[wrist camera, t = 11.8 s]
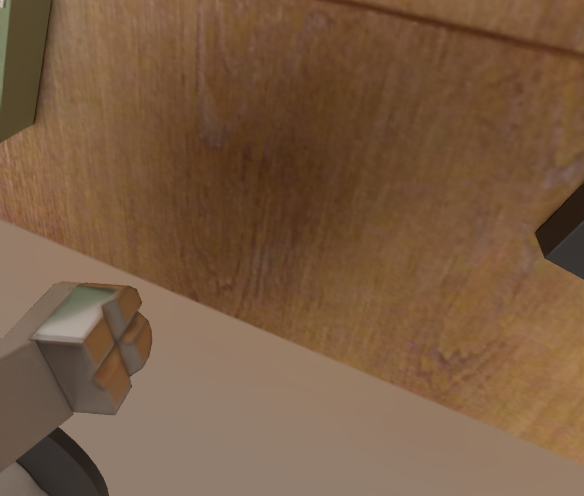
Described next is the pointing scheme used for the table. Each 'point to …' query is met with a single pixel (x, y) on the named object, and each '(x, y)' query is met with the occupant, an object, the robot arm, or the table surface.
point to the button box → (565, 235)
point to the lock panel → (20, 61)
